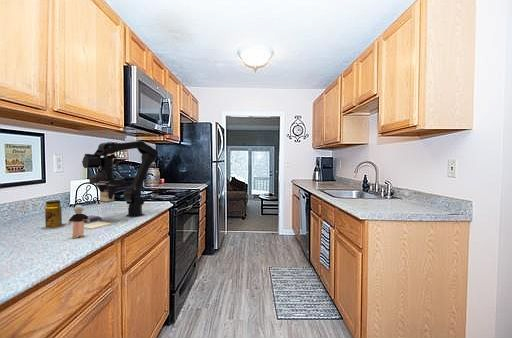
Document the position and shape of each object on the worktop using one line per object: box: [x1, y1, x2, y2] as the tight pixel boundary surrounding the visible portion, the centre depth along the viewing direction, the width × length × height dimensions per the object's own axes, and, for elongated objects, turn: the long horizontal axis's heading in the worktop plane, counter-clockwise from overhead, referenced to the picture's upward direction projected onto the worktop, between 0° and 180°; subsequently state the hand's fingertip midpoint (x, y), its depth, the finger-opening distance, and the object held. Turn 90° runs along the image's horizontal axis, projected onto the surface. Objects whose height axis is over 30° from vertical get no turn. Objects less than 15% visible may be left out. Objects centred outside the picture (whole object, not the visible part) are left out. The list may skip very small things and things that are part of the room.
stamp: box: [99, 188, 115, 204], centre depth 140 cm, size 4×4×6 cm
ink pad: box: [71, 215, 102, 224], centre depth 140 cm, size 10×8×2 cm
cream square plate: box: [84, 220, 117, 231], centre depth 130 cm, size 13×12×1 cm
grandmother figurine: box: [66, 204, 91, 239], centre depth 110 cm, size 8×4×13 cm, turn 148°
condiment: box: [42, 199, 68, 230], centre depth 128 cm, size 7×8×12 cm
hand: (107, 198), depth 140 cm, fingers closed on stamp, 4 cm apart
